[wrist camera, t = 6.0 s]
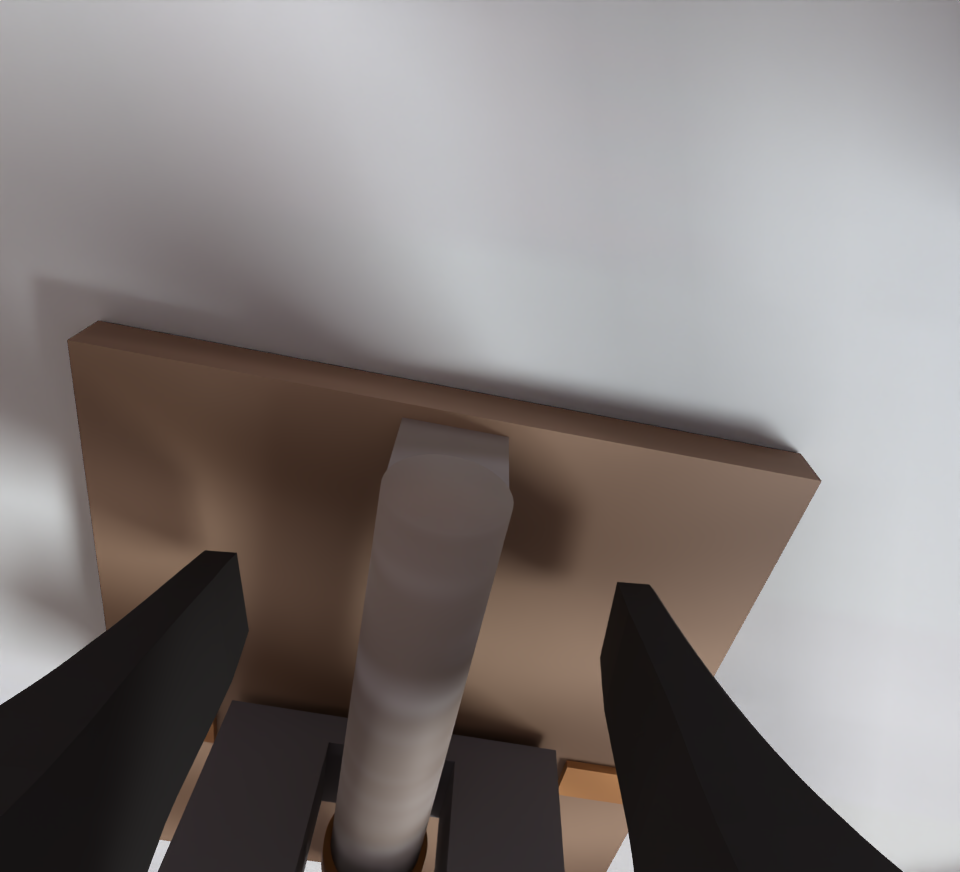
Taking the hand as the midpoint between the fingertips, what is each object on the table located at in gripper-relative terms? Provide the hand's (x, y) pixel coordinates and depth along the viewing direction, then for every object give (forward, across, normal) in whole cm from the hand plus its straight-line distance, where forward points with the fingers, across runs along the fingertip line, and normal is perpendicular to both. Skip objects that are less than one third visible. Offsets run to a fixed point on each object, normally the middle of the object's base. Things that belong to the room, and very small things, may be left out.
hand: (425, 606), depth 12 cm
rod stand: (+2, +1, +4) cm, 5 cm away
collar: (+1, +1, +6) cm, 6 cm away
